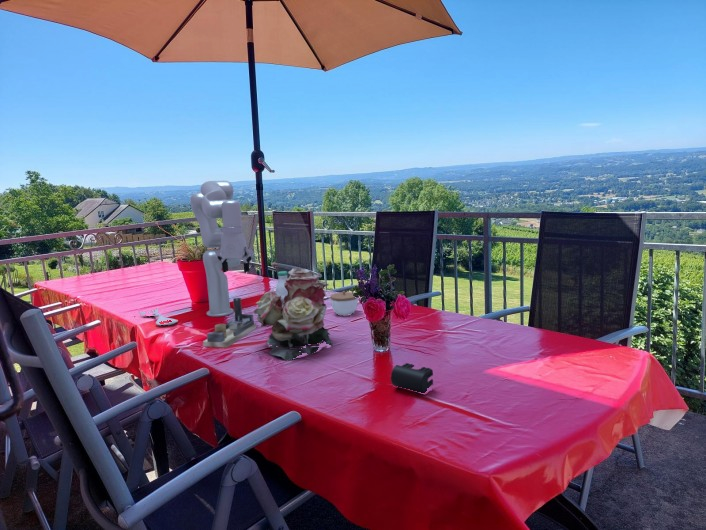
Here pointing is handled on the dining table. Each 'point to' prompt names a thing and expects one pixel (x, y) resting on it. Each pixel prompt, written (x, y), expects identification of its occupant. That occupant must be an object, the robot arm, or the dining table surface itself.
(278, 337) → the rose bouquet
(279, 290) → the milk bottle
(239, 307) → the ram
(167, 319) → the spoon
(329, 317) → the dining table surface
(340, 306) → the lidded bowl
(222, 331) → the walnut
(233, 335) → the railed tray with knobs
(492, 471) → the dining table surface
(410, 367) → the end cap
